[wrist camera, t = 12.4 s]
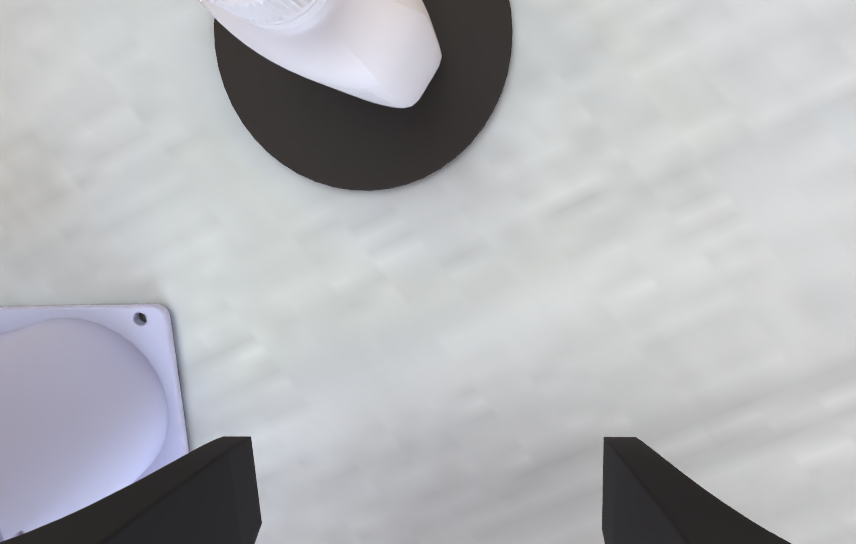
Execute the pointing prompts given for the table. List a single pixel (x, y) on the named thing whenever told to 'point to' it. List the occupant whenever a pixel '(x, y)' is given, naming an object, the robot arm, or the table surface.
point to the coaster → (369, 122)
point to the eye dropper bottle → (342, 43)
